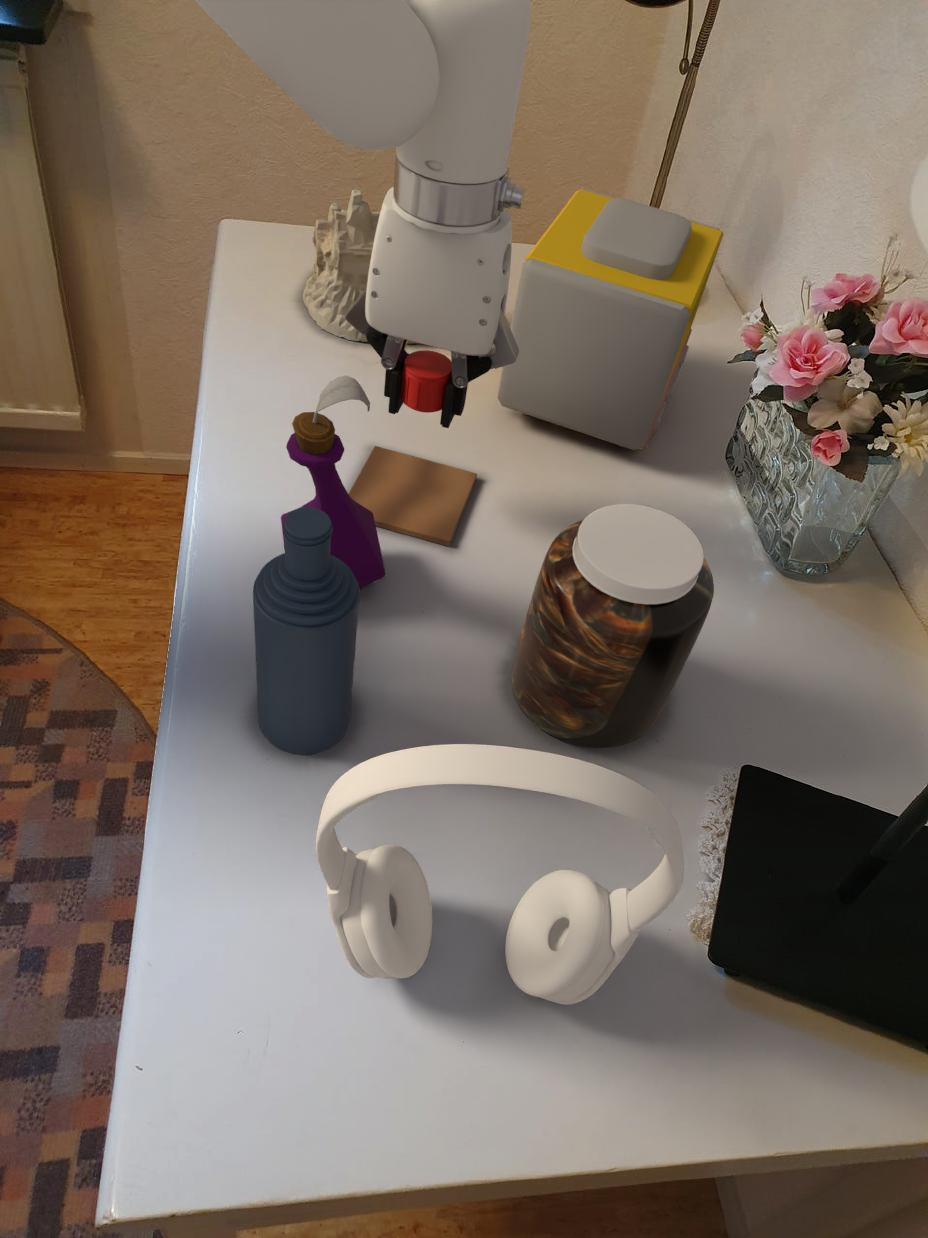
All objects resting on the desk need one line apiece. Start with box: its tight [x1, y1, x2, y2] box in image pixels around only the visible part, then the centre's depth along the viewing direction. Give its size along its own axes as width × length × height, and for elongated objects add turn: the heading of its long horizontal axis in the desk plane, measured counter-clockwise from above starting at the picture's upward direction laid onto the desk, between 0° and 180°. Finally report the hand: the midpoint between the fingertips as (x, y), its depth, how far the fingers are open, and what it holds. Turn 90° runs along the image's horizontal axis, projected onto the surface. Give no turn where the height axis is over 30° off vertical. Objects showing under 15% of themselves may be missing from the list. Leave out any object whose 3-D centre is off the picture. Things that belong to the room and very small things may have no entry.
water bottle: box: [252, 507, 361, 755], centre depth 59 cm, size 6×6×18 cm
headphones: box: [315, 743, 685, 1005], centre depth 48 cm, size 7×18×20 cm, turn 85°
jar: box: [511, 503, 715, 748], centre depth 66 cm, size 12×12×15 cm
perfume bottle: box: [280, 375, 387, 591], centre depth 69 cm, size 8×8×18 cm
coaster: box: [348, 445, 478, 547], centre depth 83 cm, size 10×10×1 cm
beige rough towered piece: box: [301, 189, 418, 345], centre depth 100 cm, size 16×16×15 cm
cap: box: [401, 349, 452, 413], centre depth 75 cm, size 4×4×3 cm
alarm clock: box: [496, 187, 724, 451], centre depth 91 cm, size 20×16×18 cm
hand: (423, 409), depth 77 cm, fingers closed on cap, 3 cm apart
